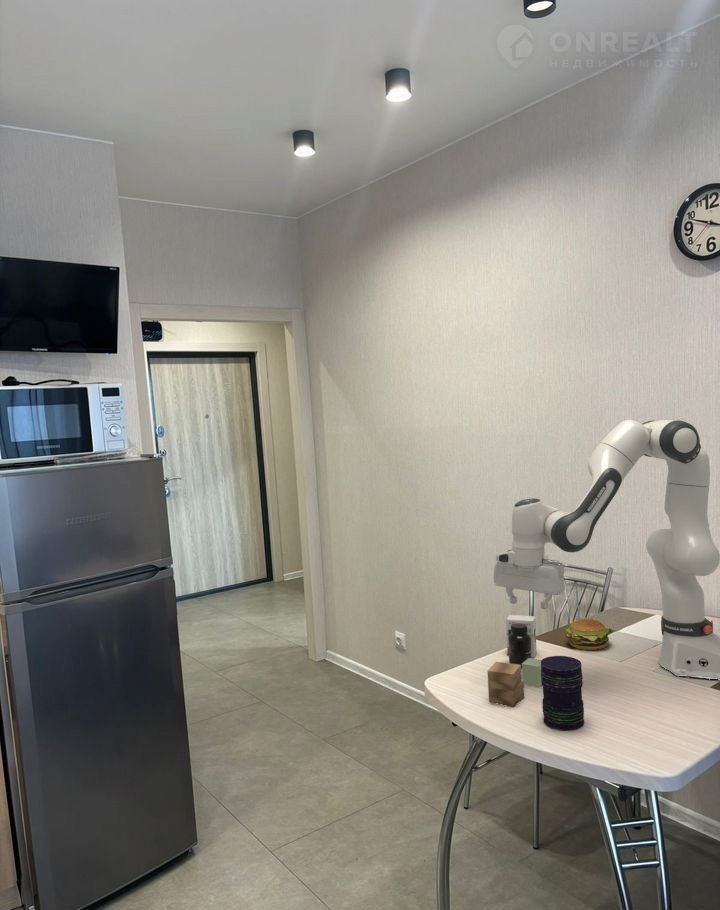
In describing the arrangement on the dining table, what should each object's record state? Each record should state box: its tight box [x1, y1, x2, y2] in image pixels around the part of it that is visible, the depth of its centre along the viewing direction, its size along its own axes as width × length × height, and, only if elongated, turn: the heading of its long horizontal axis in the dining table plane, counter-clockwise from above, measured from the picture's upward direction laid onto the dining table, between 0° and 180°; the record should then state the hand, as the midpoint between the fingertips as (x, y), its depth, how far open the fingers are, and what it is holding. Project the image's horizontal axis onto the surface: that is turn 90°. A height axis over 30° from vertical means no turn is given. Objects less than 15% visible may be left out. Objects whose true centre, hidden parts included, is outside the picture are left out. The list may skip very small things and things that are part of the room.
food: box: [564, 618, 612, 651], centre depth 224 cm, size 14×14×8 cm
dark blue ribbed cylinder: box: [540, 655, 585, 732], centre depth 172 cm, size 10×10×15 cm
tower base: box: [487, 680, 525, 708], centre depth 187 cm, size 7×7×4 cm
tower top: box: [486, 661, 523, 691], centre depth 186 cm, size 7×7×4 cm
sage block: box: [521, 657, 543, 688], centre depth 197 cm, size 5×5×6 cm
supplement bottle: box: [508, 623, 533, 669], centre depth 211 cm, size 7×7×12 cm
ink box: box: [505, 614, 538, 658], centre depth 219 cm, size 9×5×12 cm, turn 68°
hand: (528, 605), depth 196 cm, fingers open, 8 cm apart
